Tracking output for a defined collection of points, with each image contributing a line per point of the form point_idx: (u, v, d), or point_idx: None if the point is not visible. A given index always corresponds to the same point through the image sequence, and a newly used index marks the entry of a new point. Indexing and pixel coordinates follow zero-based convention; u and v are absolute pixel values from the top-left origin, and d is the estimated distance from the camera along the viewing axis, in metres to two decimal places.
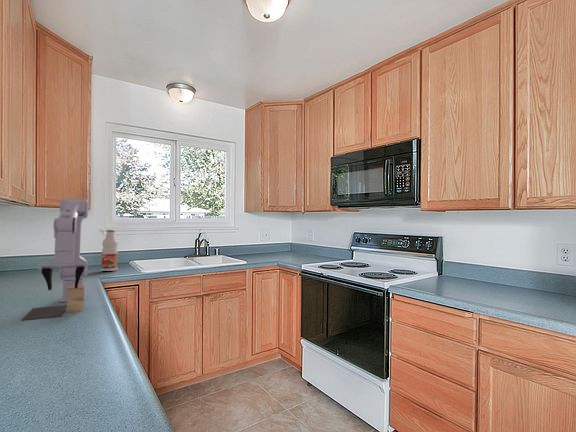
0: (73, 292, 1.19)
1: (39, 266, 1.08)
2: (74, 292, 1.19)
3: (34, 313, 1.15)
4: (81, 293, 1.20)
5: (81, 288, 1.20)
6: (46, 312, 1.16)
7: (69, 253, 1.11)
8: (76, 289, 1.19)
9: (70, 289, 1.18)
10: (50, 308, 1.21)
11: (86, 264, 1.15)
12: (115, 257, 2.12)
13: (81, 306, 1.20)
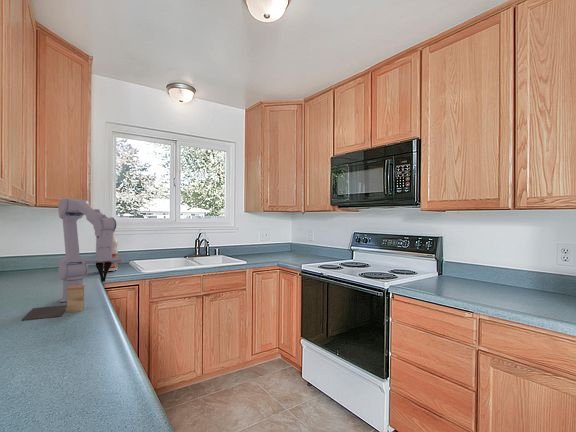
0: (73, 292, 1.19)
1: (83, 261, 1.22)
2: (74, 292, 1.19)
3: (34, 313, 1.15)
4: (81, 293, 1.20)
5: (81, 288, 1.20)
6: (46, 312, 1.16)
7: (109, 249, 1.25)
8: (76, 289, 1.19)
9: (70, 289, 1.18)
10: (50, 308, 1.21)
11: (123, 259, 1.28)
12: (115, 257, 2.12)
13: (81, 306, 1.20)
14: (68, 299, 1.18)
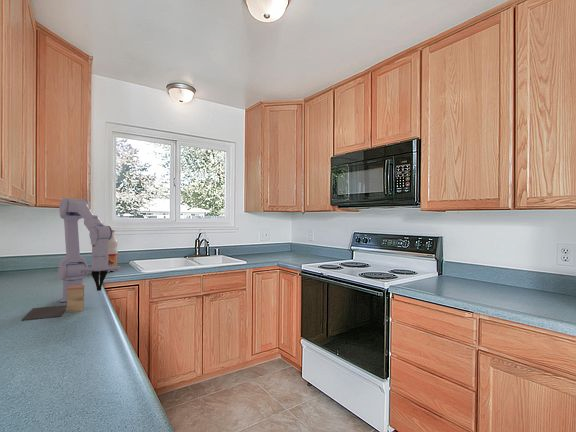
0: (73, 292, 1.19)
1: (78, 270, 1.21)
2: (74, 292, 1.19)
3: (34, 313, 1.15)
4: (81, 293, 1.20)
5: (81, 288, 1.20)
6: (46, 312, 1.16)
7: (104, 258, 1.24)
8: (76, 289, 1.19)
9: (70, 289, 1.18)
10: (50, 308, 1.21)
11: (119, 268, 1.27)
12: (115, 257, 2.12)
13: (81, 306, 1.20)
14: (68, 299, 1.18)
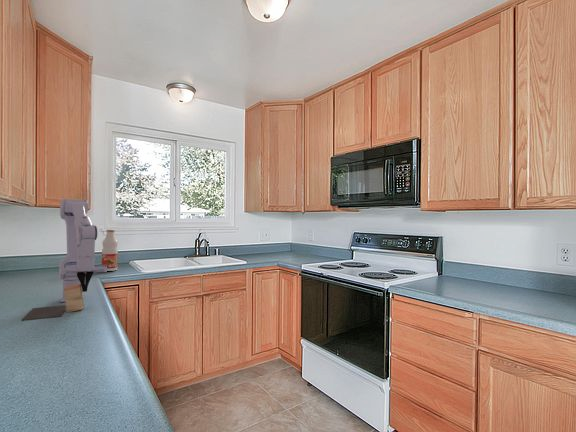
0: (70, 292, 1.18)
1: (63, 271, 1.19)
2: (71, 292, 1.19)
3: (34, 313, 1.15)
4: (79, 291, 1.20)
5: (78, 287, 1.20)
6: (46, 312, 1.16)
7: (90, 259, 1.22)
8: (73, 288, 1.19)
9: (67, 289, 1.18)
10: (50, 308, 1.21)
11: (105, 268, 1.25)
12: (115, 257, 2.12)
13: (80, 305, 1.20)
14: (66, 299, 1.18)
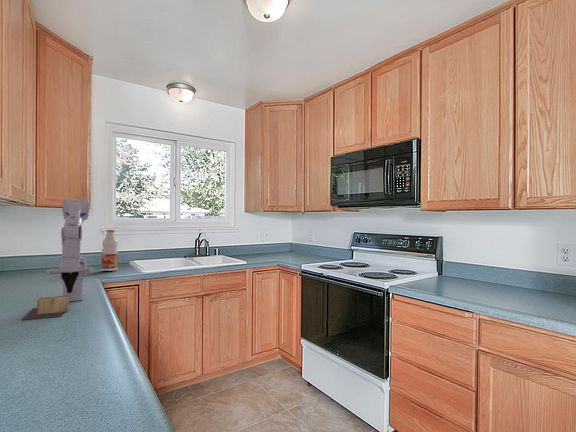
0: (42, 308, 1.14)
1: (47, 271, 1.16)
2: (42, 307, 1.14)
3: (34, 313, 1.15)
4: (44, 301, 1.15)
5: (38, 301, 1.14)
6: None
7: (75, 259, 1.19)
8: (39, 306, 1.14)
9: (38, 311, 1.14)
10: None
11: (91, 269, 1.23)
12: (115, 257, 2.12)
13: (61, 299, 1.17)
14: (51, 311, 1.16)
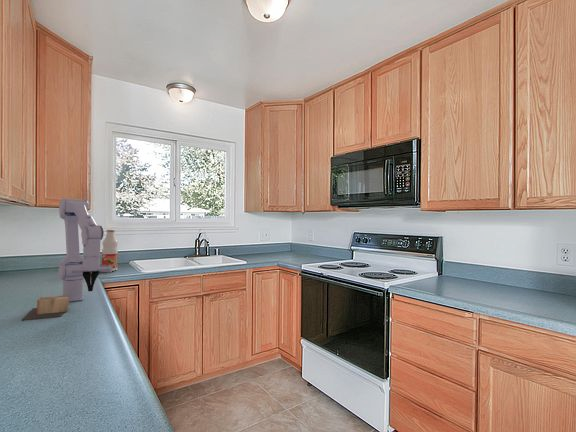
0: (42, 308, 1.14)
1: (69, 270, 1.20)
2: (42, 307, 1.14)
3: (34, 313, 1.15)
4: (44, 301, 1.15)
5: (38, 301, 1.14)
6: None
7: (96, 258, 1.23)
8: (39, 306, 1.14)
9: (38, 311, 1.14)
10: None
11: (111, 268, 1.26)
12: (115, 257, 2.12)
13: (61, 299, 1.17)
14: (51, 311, 1.16)
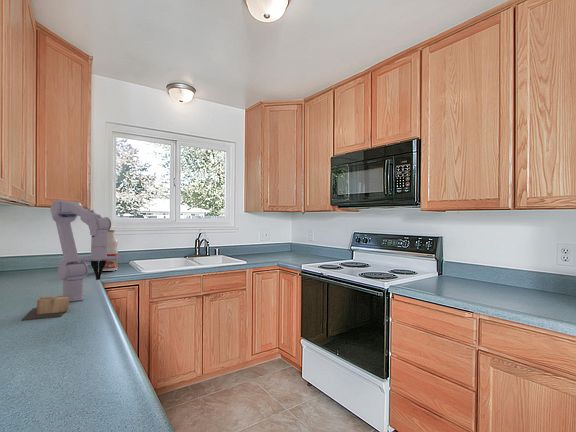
0: (42, 308, 1.14)
1: (78, 259, 1.25)
2: (42, 307, 1.14)
3: (34, 313, 1.15)
4: (44, 301, 1.15)
5: (38, 301, 1.14)
6: None
7: (103, 248, 1.28)
8: (39, 306, 1.14)
9: (38, 311, 1.14)
10: None
11: (117, 258, 1.32)
12: None
13: (61, 299, 1.17)
14: (51, 311, 1.16)
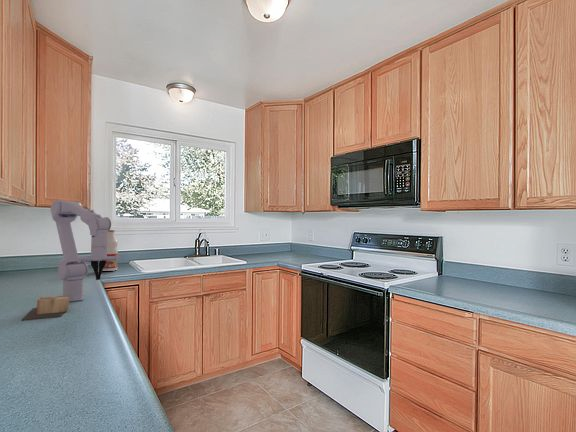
0: (42, 308, 1.14)
1: (78, 259, 1.25)
2: (42, 307, 1.14)
3: (34, 313, 1.15)
4: (44, 301, 1.15)
5: (38, 301, 1.14)
6: None
7: (103, 248, 1.28)
8: (39, 306, 1.14)
9: (38, 311, 1.14)
10: None
11: (117, 258, 1.32)
12: None
13: (61, 299, 1.17)
14: (51, 311, 1.16)
